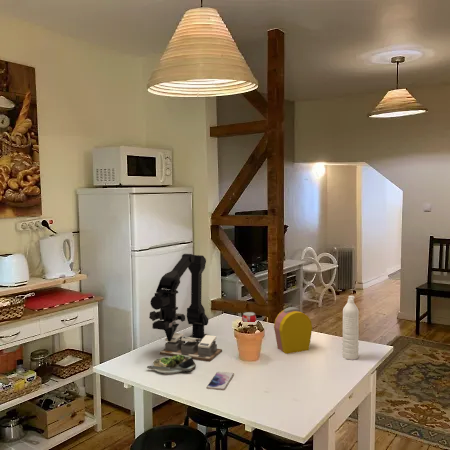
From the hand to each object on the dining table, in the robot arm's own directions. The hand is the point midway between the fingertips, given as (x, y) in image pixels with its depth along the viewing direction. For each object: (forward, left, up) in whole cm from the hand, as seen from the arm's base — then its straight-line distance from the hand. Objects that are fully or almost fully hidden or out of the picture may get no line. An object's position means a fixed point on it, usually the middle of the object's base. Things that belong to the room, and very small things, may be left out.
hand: (169, 340), depth 202 cm
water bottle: (-25, +73, -6) cm, 77 cm away
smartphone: (+18, +32, -7) cm, 37 cm away
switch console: (-5, +8, -6) cm, 11 cm away
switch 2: (-5, +16, 0) cm, 17 cm away
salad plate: (+12, +9, -6) cm, 16 cm away
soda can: (-32, +25, -6) cm, 41 cm away
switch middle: (-5, +8, 0) cm, 9 cm away
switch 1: (-5, 0, 0) cm, 5 cm away
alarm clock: (-25, +48, -6) cm, 54 cm away
